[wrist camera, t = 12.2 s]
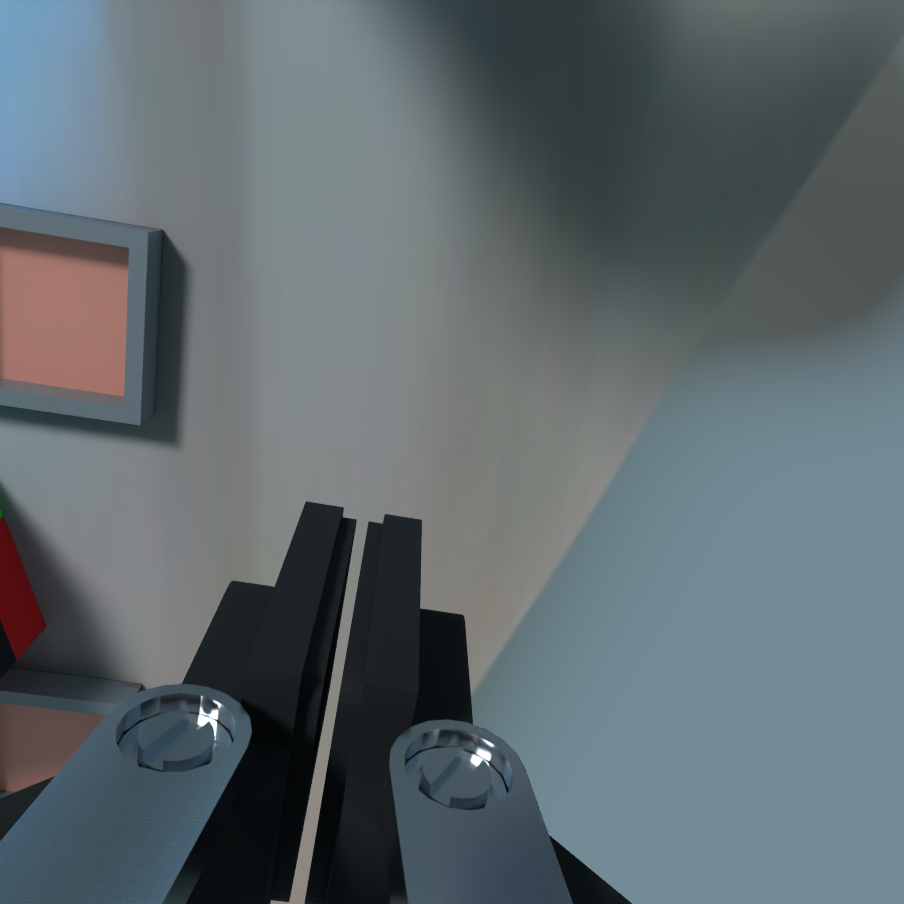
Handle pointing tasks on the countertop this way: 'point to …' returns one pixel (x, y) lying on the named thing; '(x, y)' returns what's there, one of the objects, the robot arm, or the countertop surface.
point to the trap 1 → (49, 721)
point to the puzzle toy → (15, 604)
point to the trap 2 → (78, 315)
